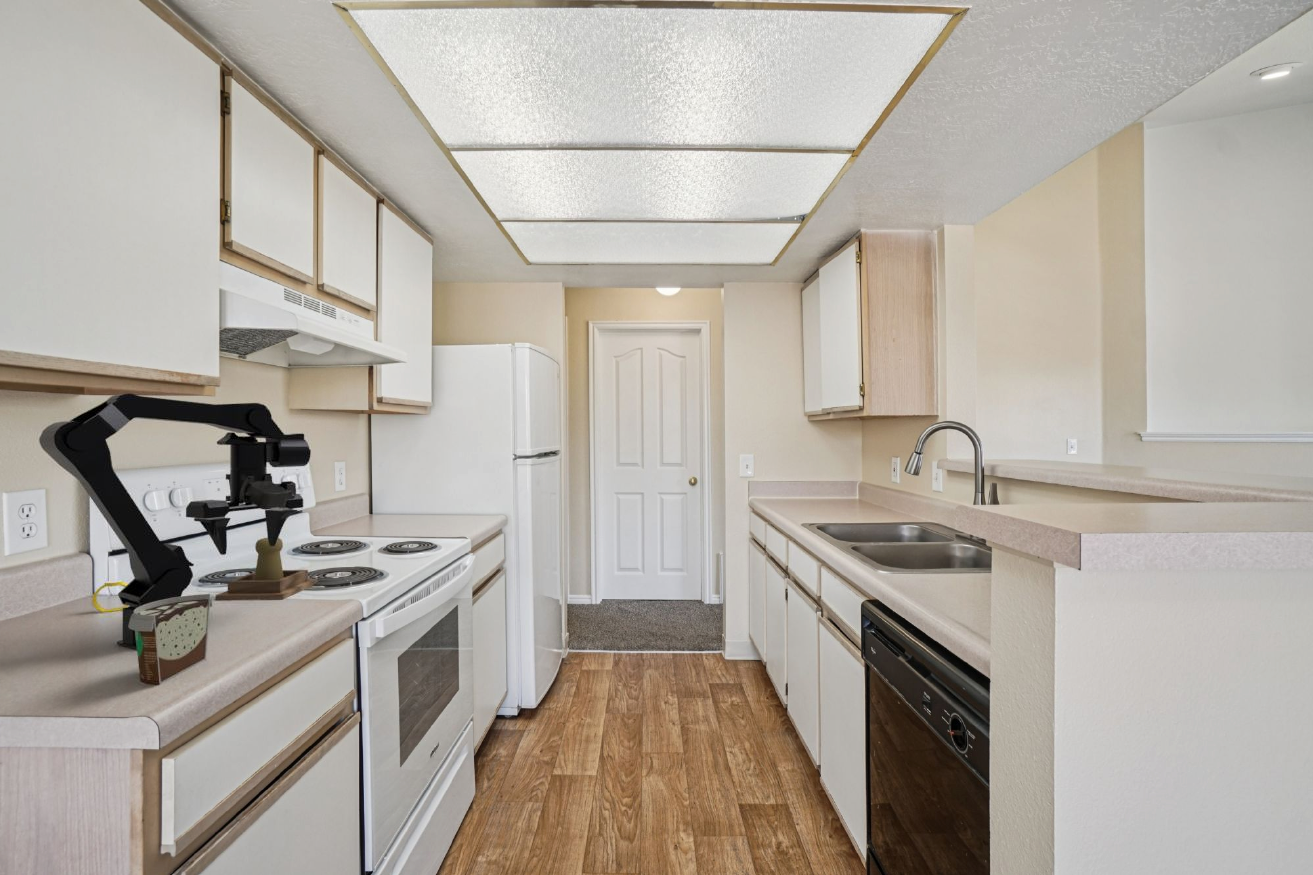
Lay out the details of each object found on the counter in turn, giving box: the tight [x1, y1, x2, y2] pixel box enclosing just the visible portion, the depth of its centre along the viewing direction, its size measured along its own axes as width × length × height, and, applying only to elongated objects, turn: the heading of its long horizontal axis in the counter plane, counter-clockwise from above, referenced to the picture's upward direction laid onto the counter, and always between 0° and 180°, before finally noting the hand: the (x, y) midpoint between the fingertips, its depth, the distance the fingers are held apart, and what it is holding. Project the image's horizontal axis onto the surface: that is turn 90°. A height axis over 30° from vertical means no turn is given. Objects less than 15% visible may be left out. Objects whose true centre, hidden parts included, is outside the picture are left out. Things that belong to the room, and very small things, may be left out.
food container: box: [128, 593, 214, 686], centre depth 87 cm, size 12×6×10 cm, turn 4°
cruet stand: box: [215, 569, 319, 601], centre depth 133 cm, size 14×14×4 cm
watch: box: [91, 579, 129, 613], centre depth 118 cm, size 6×3×6 cm, turn 123°
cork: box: [254, 537, 284, 580], centre depth 133 cm, size 6×6×11 cm
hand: (248, 550), depth 113 cm, fingers open, 9 cm apart
